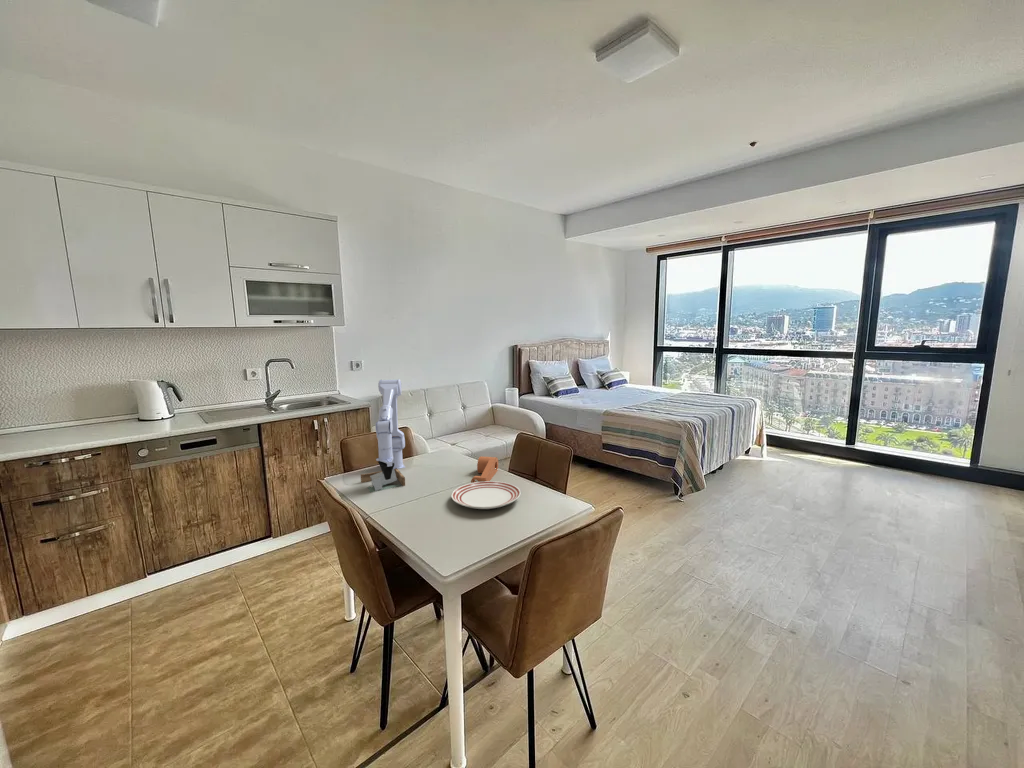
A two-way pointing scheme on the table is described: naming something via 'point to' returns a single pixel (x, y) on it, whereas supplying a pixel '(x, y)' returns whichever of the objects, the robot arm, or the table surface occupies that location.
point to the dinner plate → (486, 494)
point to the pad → (383, 488)
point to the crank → (486, 468)
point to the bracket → (381, 480)
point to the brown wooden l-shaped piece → (367, 476)
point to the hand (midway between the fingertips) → (387, 477)
